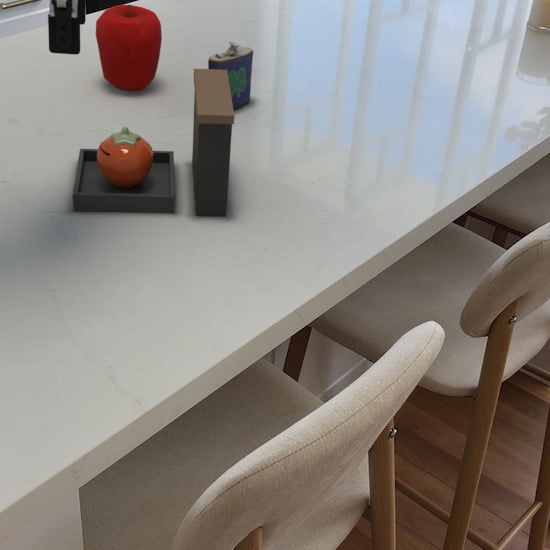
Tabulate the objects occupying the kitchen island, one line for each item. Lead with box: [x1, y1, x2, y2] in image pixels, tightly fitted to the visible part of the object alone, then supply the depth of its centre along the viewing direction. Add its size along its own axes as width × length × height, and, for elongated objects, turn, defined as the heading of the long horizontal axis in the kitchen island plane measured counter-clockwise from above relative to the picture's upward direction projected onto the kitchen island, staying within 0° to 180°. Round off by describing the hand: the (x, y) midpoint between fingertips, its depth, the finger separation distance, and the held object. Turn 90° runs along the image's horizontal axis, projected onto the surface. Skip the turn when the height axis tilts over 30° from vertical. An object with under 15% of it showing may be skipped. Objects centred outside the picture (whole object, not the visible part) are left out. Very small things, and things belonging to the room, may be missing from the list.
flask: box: [207, 41, 254, 111], centre depth 139 cm, size 9×3×11 cm, turn 139°
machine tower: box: [191, 68, 235, 217], centre depth 116 cm, size 4×14×14 cm, turn 6°
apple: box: [95, 3, 163, 93], centre depth 142 cm, size 11×10×14 cm
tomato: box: [97, 126, 154, 189], centre depth 115 cm, size 7×7×8 cm
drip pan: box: [72, 148, 176, 214], centre depth 118 cm, size 13×13×2 cm
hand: (68, 37), depth 98 cm, fingers open, 9 cm apart
